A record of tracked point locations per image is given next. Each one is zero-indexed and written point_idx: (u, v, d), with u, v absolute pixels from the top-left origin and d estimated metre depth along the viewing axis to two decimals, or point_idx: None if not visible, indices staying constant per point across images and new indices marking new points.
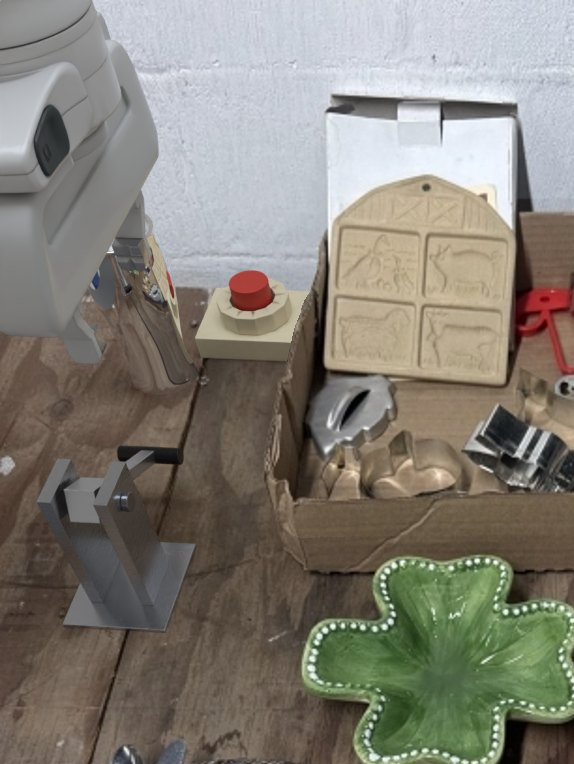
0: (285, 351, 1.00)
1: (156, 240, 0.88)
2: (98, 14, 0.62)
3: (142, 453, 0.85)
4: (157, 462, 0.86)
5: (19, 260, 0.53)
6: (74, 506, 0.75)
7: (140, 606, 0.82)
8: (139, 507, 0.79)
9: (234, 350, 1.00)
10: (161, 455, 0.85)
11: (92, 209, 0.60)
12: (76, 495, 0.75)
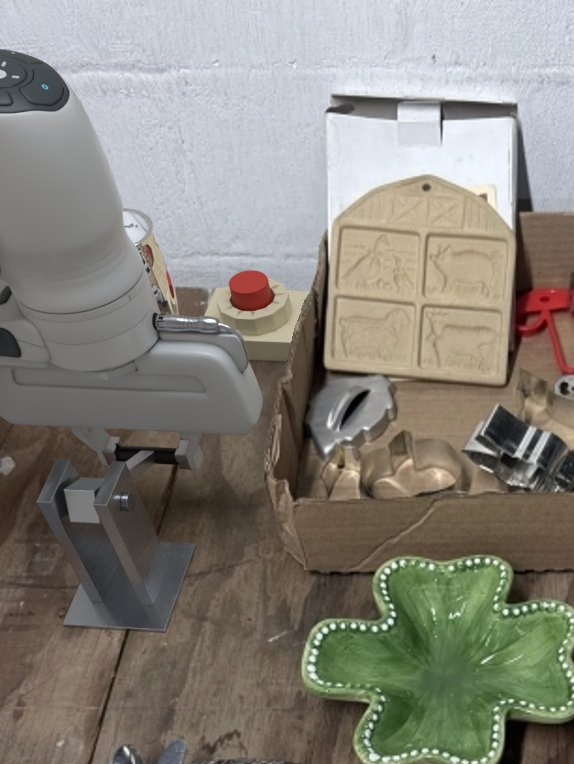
0: (285, 351, 1.00)
1: (156, 240, 0.88)
2: (230, 336, 0.75)
3: (142, 453, 0.85)
4: (158, 463, 0.86)
5: None
6: (74, 506, 0.75)
7: (140, 606, 0.82)
8: (139, 507, 0.79)
9: None
10: (161, 456, 0.85)
11: (95, 401, 0.80)
12: (76, 495, 0.75)
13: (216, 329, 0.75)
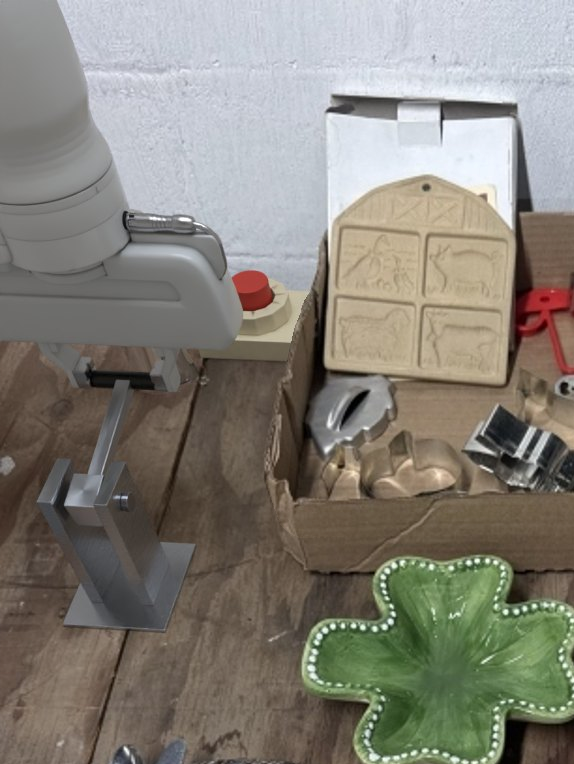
0: (285, 351, 1.00)
1: None
2: (207, 236, 0.70)
3: (119, 388, 0.80)
4: (136, 389, 0.81)
5: None
6: (78, 516, 0.76)
7: (140, 606, 0.82)
8: (139, 507, 0.79)
9: (234, 350, 1.00)
10: (139, 385, 0.80)
11: (63, 312, 0.74)
12: (77, 509, 0.75)
13: (191, 228, 0.70)
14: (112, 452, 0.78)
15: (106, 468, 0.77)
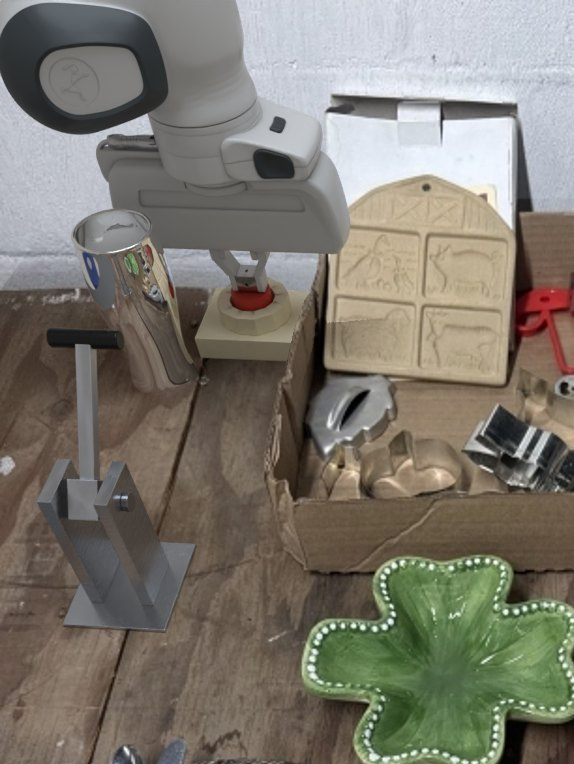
0: (285, 351, 1.00)
1: (156, 240, 0.88)
2: None
3: (81, 356, 0.74)
4: None
5: (339, 183, 0.92)
6: None
7: (140, 606, 0.82)
8: (139, 507, 0.79)
9: (234, 350, 1.00)
10: (101, 348, 0.74)
11: None
12: (82, 519, 0.76)
13: None
14: (96, 439, 0.76)
15: (95, 461, 0.76)
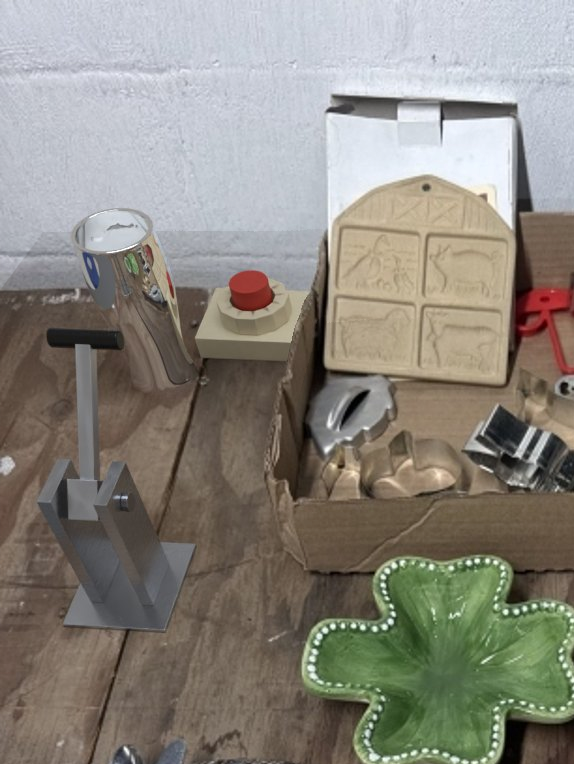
0: (285, 351, 1.00)
1: (156, 240, 0.88)
2: None
3: (81, 356, 0.74)
4: None
5: None
6: None
7: (140, 606, 0.82)
8: (139, 507, 0.79)
9: (234, 350, 1.00)
10: (101, 348, 0.74)
11: None
12: (82, 519, 0.76)
13: None
14: (96, 439, 0.76)
15: (95, 461, 0.76)
